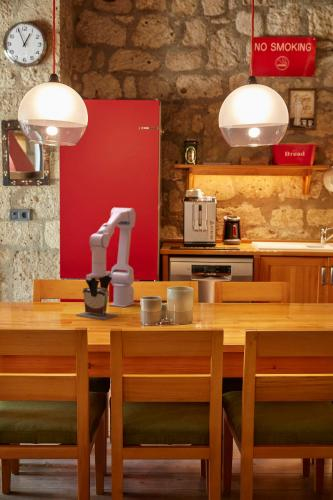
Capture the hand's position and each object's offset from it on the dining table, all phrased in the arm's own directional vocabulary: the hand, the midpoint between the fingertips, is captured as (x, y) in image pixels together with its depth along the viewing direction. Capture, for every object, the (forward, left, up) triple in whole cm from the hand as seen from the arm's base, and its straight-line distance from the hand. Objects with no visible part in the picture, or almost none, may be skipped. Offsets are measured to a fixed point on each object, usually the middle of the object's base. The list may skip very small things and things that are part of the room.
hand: (98, 295), depth 229 cm
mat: (+1, 0, -8) cm, 8 cm away
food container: (0, 0, -8) cm, 8 cm away
